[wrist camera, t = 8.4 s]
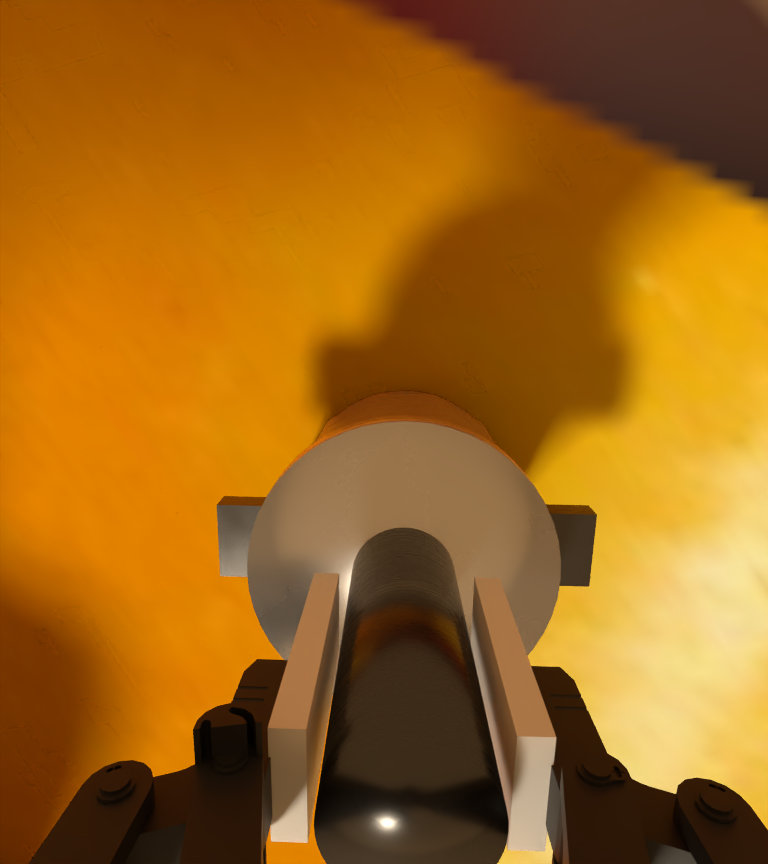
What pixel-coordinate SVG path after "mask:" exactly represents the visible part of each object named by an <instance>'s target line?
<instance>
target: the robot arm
mask: <svg viewBox="0 0 768 864" xmlns="http://www.w3.org/2000/svg"><path fill="white" fill-rule="evenodd" d="M471 647H472V652H473V656H474V661H475V665H476V670H477V675H478V679H479V684H480V688H481V693H482V698H483V702H484V707H485V711H486V716H487V721H488V725H489V730H490V734H491V739H492V743H493V748H494V753H495V757H496V762H497V766H498V771H499V776H500V780H501V785H502V789H503V794H504V798H505V803H506V808H507V813H508V819H509V832H508V838H507V848H508V850H520V851H545V846H546V836H547V831H548V835H549V838H550V842H551V846H552V849H553V857H552V864H768V830H767V829H766V827H765V826H764V824H763V823H762V822H761V820H760V819H759V818H758V816H757V815H756V813H755V812H754V811H753V809H752V808H751V806H750V805H749V804H748V803H747V802H746V801H745V800H744V799H743V798H742V797H741V796H740V795H739V794H737V793H736V792H734V791H733V790H731V789H730V788H728V787H727V786H725V785H722V784H720V783H717V782H715V781H712V780H708V779H702V778H692V779H686V780H684V781H683V782H682V783H681V784H679V785H678V788H677V793H676V794H673V793H670V792H666V791H663V790H659V789H656V788H652V787H649V786H647V785H644V784H641V783H639V782H637V781H635V780H633V779H631V777H630V775H629V772H628V770H627V769H626V768H625V767H624V766H623V765H622V764H621V763H620V761H619V760H617V759H616V758H614V757H612V756H611V755H609V754H607V752H606V749H605V747H604V745H603V743H602V741H601V738H600V736H599V734H598V732H597V730H596V727H595V725H594V723H593V721H592V719H591V716H590V714H589V712H588V711H587V709H586V705H585V703H584V701H583V699H582V698H581V694H580V692H579V690H578V688H577V686H576V683H575V681H574V680H573V679H572V678H571V677H570V676H569V675H568V674H567V673H566V672H565V671H564V670H563V669H561V668H560V667H541V666H531V665H530V662H529V659H528V656H527V654H526V651H525V648H524V645H523V642H522V640H521V637H520V634H519V631H518V628H517V625H516V623H515V620H514V617H513V614H512V611H511V609H510V606H509V603H508V600H507V597H506V595H505V592H504V589H503V586H502V583H501V581H500V578H485V577H474V594H473V611H472V628H471ZM338 657H339V573H314V576H313V579H312V582H311V586H310V589H309V592H308V596H307V599H306V602H305V606H304V609H303V612H302V615H301V619H300V622H299V625H298V629H297V632H296V635H295V639H294V642H293V645H292V649H291V652H290V655H289V658H288V660H266V659H257V660H256V661H255V662H254V663H253V664H252V665H251V666H250V667H248V668H247V669H246V670H245V671H244V673H243V676H242V678H241V680H240V683H239V685H238V689H237V690H236V693H235V695H234V698H233V701H232V702H231V703H229V704H225V705H220V706H217V707H215V708H213V709H211V710H209V711H207V712H205V713H204V714H203V715H202V716H201V717H200V718H199V719H198V720H197V722H196V724H195V726H194V729H193V736H194V751H195V765H193V766H191V767H189V768H187V769H184V770H181V771H178V772H174V773H170V774H165V775H161V776H156V777H153V775H152V771H151V769H150V768H149V767H148V766H147V765H145V764H144V763H142V762H137V761H133V760H130V761H119V762H116V763H113V764H111V765H108V766H105V767H103V768H102V769H100V770H99V771H97V772H95V773H94V774H92V775H91V776H90V777H89V778H88V780H87V781H86V782H85V783H84V784H83V785H82V786H81V788H80V789H79V791H78V792H77V794H76V795H75V797H74V798H73V799H72V801H71V802H70V804H69V805H68V807H67V808H66V810H65V811H64V813H63V814H62V816H61V817H60V819H59V820H58V821H57V823H56V824H55V826H54V827H53V829H52V830H51V832H50V833H49V835H48V836H47V838H46V839H45V840H44V842H43V843H42V845H41V846H40V848H39V849H38V851H37V852H36V854H35V855H34V857H33V858H32V859H31V861H30V862H29V864H267V860H266V841H267V837H268V832H269V828H270V824H271V841H275V842H303V843H308V838H309V832H310V826H311V820H312V814H313V808H314V802H315V796H316V790H317V784H318V778H319V772H320V766H321V760H322V754H323V748H324V742H325V736H326V730H327V723H328V717H329V711H330V705H331V699H332V693H333V687H334V681H335V675H336V669H337V663H338Z"/></svg>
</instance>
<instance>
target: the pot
mask: <svg viewBox="0 0 768 864" xmlns="http://www.w3.org/2000/svg"><path fill="white" fill-rule="evenodd" d="M398 415H411V416H423V417H430V418H435V419H439V420H444V421H448V422H451V423H454V424H457V425H459V426H462V427H465V428H467V429H469V430H471V431H473V432H475V433H477V434H479V435H481V436H483V437H485V438H486V439H488V440H489V441H490V442H492V443H493V444H495V442H494V440H493V439H492V437H491V436H490V434H489V433H488V431H487V430H486V428H485V427H484V425H483V424H482V423H481V422H479V421H477V420H476V419H474V418H473V417H472V416H470V415H469V414H468V413H467V412H466V411H464V410H463V409H461V408H460V407H458V406H457V405H455V404H453V403H451V402H449V401H448V400H446V399H443V398H440V397H438V396H436V395H432V394H427V393H423V392H417V391H390V392H385V393H377V394H376V395H373V396H369V397H366V398H364V399H362V400H360V401H358V402H356V403H354V404H352V405H351V406H349V407H347V408H346V409H344V410H343V411H342V412H340V413H339V414H338V415H337V416H335V417H333V418H331V419H330V420H328V422H327V424H326V425H325V427H324V429H323V430H322V432H321V434H320V435H319V437H318V439H317V440H316V441H318V440H319V439H321V438H323V437H324V436H326V435H327V434H329V433H331V432H334V431H336V430H338V429H340V428H342V427H344V426H347V425H350V424H353V423H356V422H360V421H363V420H366V419H372V418H378V417H383V416H398ZM495 445H496V444H495ZM496 446H497V445H496ZM265 499H266V497H234V496H224V497H223V498H222V500H221V501H220V502H219V503H218V504H217V518H218V538H219V558H220V576H237V577H248V575H247V561H248V549H249V543H250V537H251V533H252V530H253V527H254V524H255V521H256V518H257V515H258V513H259V511H260V509H261V507H262V505H263V503H264V501H265ZM546 506H547V509H548V511H549V513H550V516H551V518H552V520H553V523H554V526H555V530H556V533H557V537H558V541H559V548H560V557H561V579H560V585H559V586H589V582H590V573H591V564H592V554H593V545H594V536H595V527H596V517H597V514H596V513H595V512H594V511H593V510H592V509H591V508H590V507H589V506H586V505H547V504H546Z"/></svg>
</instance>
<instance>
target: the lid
mask: <svg viewBox="0 0 768 864" xmlns="http://www.w3.org/2000/svg"><path fill="white" fill-rule="evenodd" d="M314 573H339V657H338V663H337V669H336V675H335V681H334V687H333V693H332V695H333V699H332V705H331V712H330V718H329V725H328V731H327V738H326V744H325V751H324V757H323V764H322V771H321V777H320V784H319V790H318V797H317V803H316V810H315V818H314V830H315V838H316V841H317V845H318V848H319V850H320V853H321V855H322V857H323V858H324V860H325V862H326V863H327V864H497V863H498V861H499V860H500V858H501V856H502V854H503V852H504V849H505V846H506V843H507V838H508V832H509V819H508V813H507V808H506V803H505V798H504V794H503V789H502V785H501V780H500V776H499V771H498V766H497V762H496V757H495V753H494V748H493V743H492V739H491V734H490V730H489V725H488V721H487V716H486V711H485V707H484V702H483V698H482V693H481V688H480V684H479V679H478V675H477V670H476V665H475V661H474V656H473V652H472V647H471V628H472V611H473V594H474V577H485V578H500V581H501V583H502V586H503V589H504V592H505V595H506V597H507V600H508V603H509V606H510V609H511V611H512V614H513V617H514V620H515V623H516V625H517V628H518V631H519V634H520V637H521V640H522V642H523V645H524V648H525V651H526V654H527V655H528V654H529V653H530V652H531V651H532V650H533V648H534V647H535V645H536V644H537V642H538V641H539V639H540V638H541V636H542V635H543V633H544V631H545V629H546V627H547V625H548V623H549V621H550V618H551V616H552V613H553V610H554V607H555V604H556V601H557V597H558V591H559V585H560V579H561V557H560V548H559V541H558V537H557V533H556V530H555V526H554V523H553V520H552V518H551V516H550V513H549V511H548V509H547V506H546V504H545V503H544V501H543V499H542V498H541V496H540V494H539V493H538V491H537V489H536V488H535V486H534V485H533V484H532V482H531V481H530V480H529V478H528V477H527V476H526V474H525V473H524V472H523V471H522V470H521V468H520V467H519V466H518V465H517V463H516V462H515V461H514V460H513V459H511V458H510V457H509V456H508V455H507V454H506V453H505V452H504V451H503V450H502V449H501V448H499V447H498V446H496V445H495V444H493V443H492V442H490V441H489V440H488V439H486V438H485V437H483V436H481V435H479V434H477V433H475V432H473V431H471V430H469V429H467V428H465V427H462V426H459V425H457V424H454V423H451V422H448V421H444V420H439V419H435V418H430V417H423V416H411V415H398V416H383V417H378V418H372V419H366V420H363V421H360V422H356V423H353V424H350V425H347V426H344V427H342V428H340V429H338V430H336V431H334V432H331V433H329V434H327V435H326V436H324V437H323V438H321V439H319V440H318V441H316V442H315V443H313V444H312V445H310V446H309V447H308V448H307V449H306V450H304V451H303V452H302V453H301V454H300V455H298V456H297V457H296V458H295V459H294V460H293V461H292V463H291V464H290V465H289V466H288V467H287V468H286V469H285V470H284V471H283V473H282V474H281V476H280V477H279V479H278V480H277V482H276V483H275V485H274V486H273V488H272V489H271V491H270V492H269V494H268V495H267V497H266V499H265V501H264V503H263V505H262V507H261V509H260V511H259V513H258V515H257V518H256V521H255V524H254V527H253V530H252V533H251V537H250V543H249V549H248V561H247V575H248V584H249V591H250V595H251V599H252V603H253V607H254V610H255V613H256V615H257V617H258V620H259V622H260V625H261V627H262V628H263V630H264V632H265V634H266V636H267V637H268V639H269V641H270V642H271V644H272V645H273V646H274V648H275V649H276V650H277V651H278V653H279V654H280V655H281V657H282V658H283V659H284V660H288V658H289V655H290V652H291V649H292V645H293V642H294V639H295V635H296V632H297V629H298V625H299V622H300V619H301V615H302V612H303V609H304V606H305V602H306V599H307V596H308V592H309V589H310V586H311V582H312V579H313V576H314Z"/></svg>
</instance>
